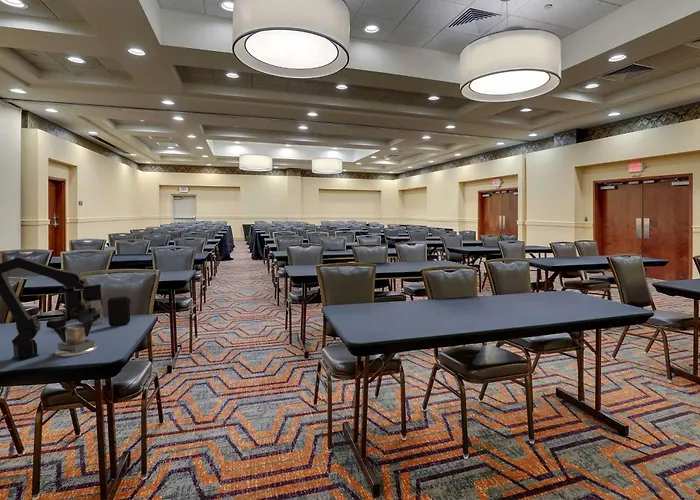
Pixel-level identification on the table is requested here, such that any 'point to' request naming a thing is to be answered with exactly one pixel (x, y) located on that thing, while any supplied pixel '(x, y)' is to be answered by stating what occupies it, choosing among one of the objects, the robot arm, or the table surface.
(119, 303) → the carrying case or bag
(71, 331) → the light wood block
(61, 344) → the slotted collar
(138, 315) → the table surface
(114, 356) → the table surface
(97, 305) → the coffee box
